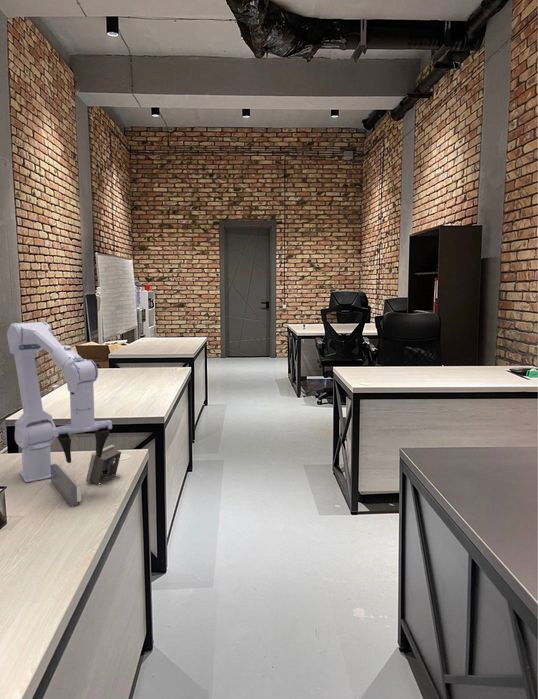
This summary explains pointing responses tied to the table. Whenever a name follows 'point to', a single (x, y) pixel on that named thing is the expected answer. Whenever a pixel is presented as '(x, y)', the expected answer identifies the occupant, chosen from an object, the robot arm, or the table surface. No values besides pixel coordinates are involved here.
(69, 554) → the table surface
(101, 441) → the robot arm
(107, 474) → the electrical switch
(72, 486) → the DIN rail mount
